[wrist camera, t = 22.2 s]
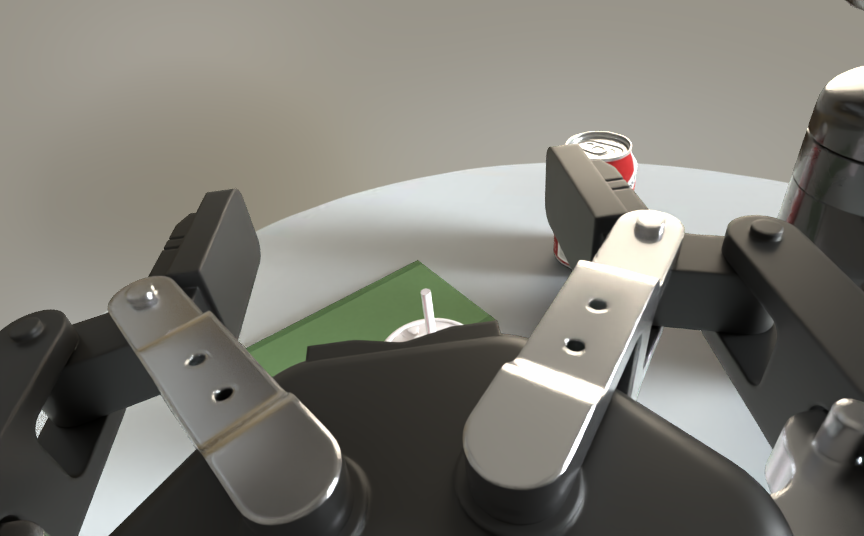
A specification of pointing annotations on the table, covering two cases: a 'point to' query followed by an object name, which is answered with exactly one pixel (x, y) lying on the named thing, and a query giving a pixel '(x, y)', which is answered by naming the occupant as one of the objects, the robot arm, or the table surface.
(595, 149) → the soda can
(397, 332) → the smoothie
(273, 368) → the green flat rectangular slab
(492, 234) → the table surface
